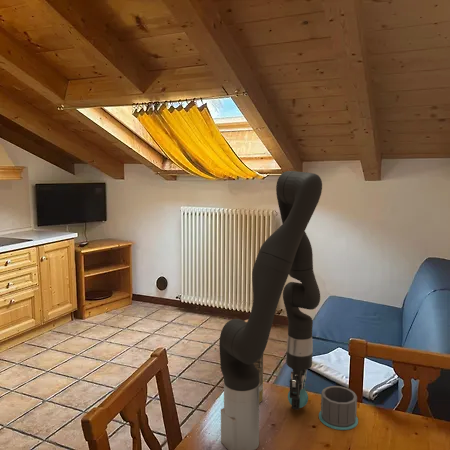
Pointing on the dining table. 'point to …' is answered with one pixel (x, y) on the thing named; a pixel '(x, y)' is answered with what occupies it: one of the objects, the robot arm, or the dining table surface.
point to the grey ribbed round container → (338, 408)
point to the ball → (302, 398)
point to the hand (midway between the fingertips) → (297, 402)
